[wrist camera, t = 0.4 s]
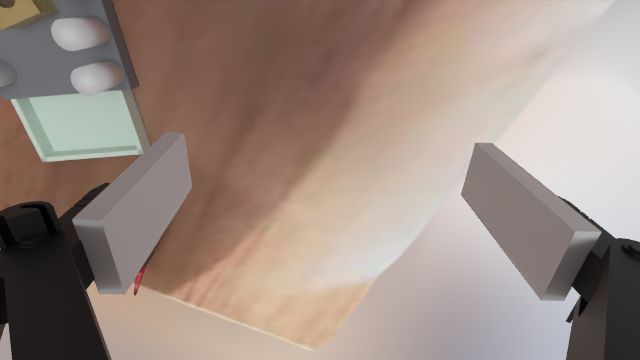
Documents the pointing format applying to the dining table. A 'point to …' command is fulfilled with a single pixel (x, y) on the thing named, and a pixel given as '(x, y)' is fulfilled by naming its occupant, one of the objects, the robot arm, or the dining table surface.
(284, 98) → the dining table surface
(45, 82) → the board
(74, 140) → the tray
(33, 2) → the gold block with knob
